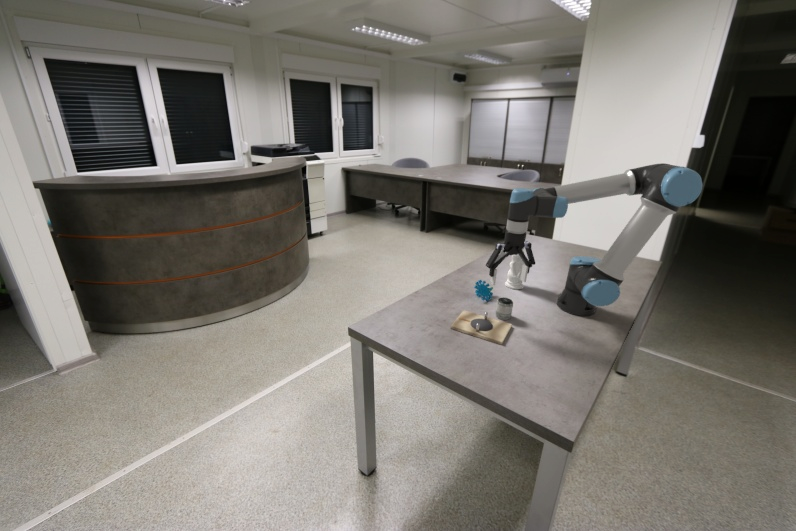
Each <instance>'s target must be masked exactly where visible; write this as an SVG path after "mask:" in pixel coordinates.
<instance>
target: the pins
mask: <svg viewBox="0 0 796 531" xmlns="http://www.w3.org/2000/svg"><path fill="white" fill-rule="evenodd" d="M483 316H484V319H485V320H487V317H489V312H488V311H485V312H484V314H483ZM479 327H480V324H478V323H477V324H476V332H479Z"/></svg>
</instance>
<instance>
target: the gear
mask: <svg viewBox="0 0 796 531" xmlns="http://www.w3.org/2000/svg"><path fill="white" fill-rule="evenodd" d="M490 286H491V285H490V284H489V283H487V282H486V281H485V280H482V279H479V280H478V281H476V282H475V285H474V289H475V290H474V291H475V292H474V293H475V295H476V296H477V297H478V298H479V299H480V298H481V297H482V298H481V300H482V301H483V302H484V301H486V302H489V301H490V300H491V299H493V297H492V296H493V295H494V293H493V292H492V291H493V289H494V287H493V286H491V287H490Z"/></svg>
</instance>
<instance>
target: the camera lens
mask: <svg viewBox="0 0 796 531" xmlns="http://www.w3.org/2000/svg"><path fill="white" fill-rule="evenodd" d="M513 306H514V302H513V301H512V299H511V298H508V297H500V298H498V299H497V300H496V306H495V307H496V308H495V317H496V318H497V320H498V319H499V320H500V321H509V320H510V319H511V317H512V313H513V308H514V307H513Z"/></svg>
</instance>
